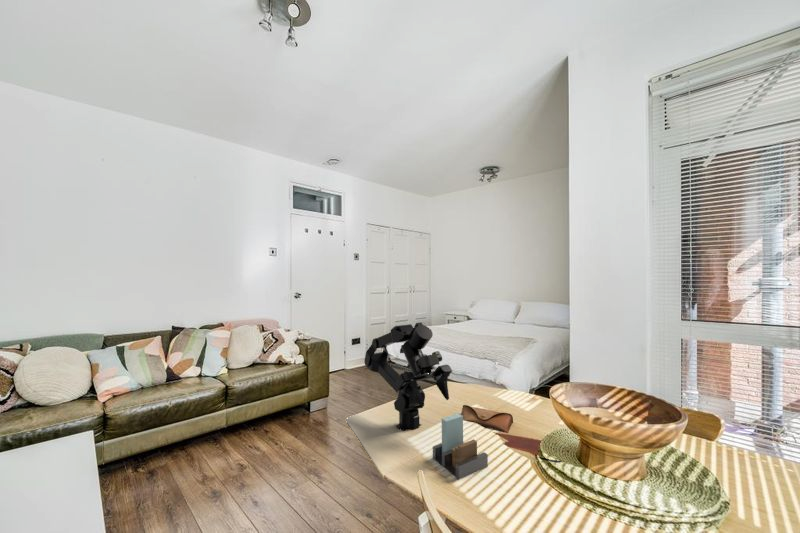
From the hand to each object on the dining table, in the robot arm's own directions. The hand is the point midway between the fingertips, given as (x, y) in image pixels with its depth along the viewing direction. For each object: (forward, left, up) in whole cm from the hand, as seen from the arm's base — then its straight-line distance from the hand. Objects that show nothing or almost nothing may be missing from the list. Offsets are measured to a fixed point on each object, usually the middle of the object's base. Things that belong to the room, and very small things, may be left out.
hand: (436, 402), depth 96 cm
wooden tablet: (+15, +19, -14) cm, 28 cm away
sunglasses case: (+1, +25, -14) cm, 28 cm away
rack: (+10, -2, -13) cm, 17 cm away
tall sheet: (+7, -2, -13) cm, 15 cm away
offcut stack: (+12, -3, -13) cm, 18 cm away
